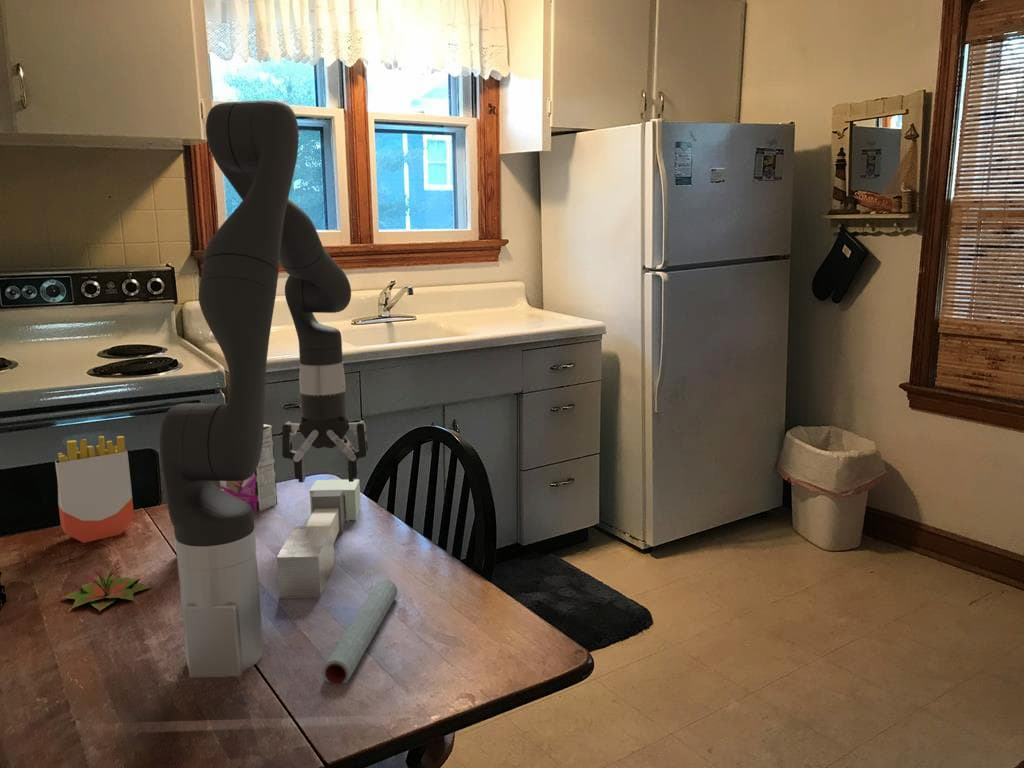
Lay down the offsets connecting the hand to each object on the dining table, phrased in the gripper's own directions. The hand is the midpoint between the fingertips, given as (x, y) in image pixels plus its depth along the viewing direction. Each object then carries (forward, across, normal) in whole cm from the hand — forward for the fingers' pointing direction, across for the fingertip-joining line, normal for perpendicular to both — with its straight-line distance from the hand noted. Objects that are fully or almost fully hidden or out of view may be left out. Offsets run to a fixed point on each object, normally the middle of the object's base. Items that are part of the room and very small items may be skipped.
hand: (327, 480), depth 144 cm
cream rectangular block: (+10, 0, -19) cm, 21 cm away
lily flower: (+11, -29, -22) cm, 38 cm away
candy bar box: (+10, -18, +15) cm, 25 cm away
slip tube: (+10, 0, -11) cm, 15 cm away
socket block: (+10, 0, +8) cm, 12 cm away
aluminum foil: (+11, +9, -36) cm, 39 cm away
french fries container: (+10, -40, +1) cm, 41 cm away
